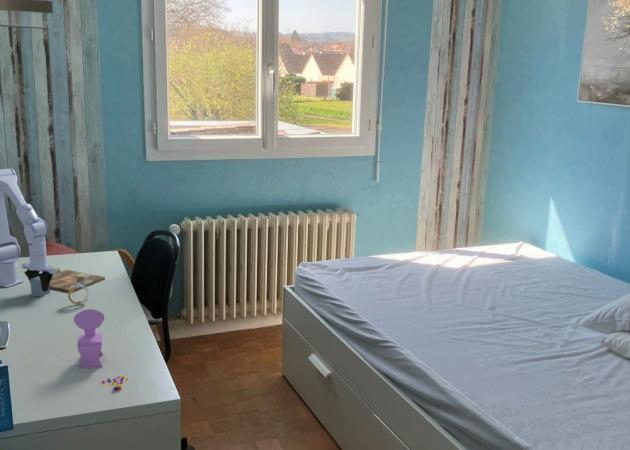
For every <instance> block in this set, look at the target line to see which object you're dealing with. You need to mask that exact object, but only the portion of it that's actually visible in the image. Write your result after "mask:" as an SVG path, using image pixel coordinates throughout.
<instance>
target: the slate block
mask: <svg viewBox="0 0 630 450" xmlns="http://www.w3.org/2000/svg"><path fill="white" fill-rule="evenodd" d="M30 280H31V283H30V290H31V295H32V296H35V297H44V296H46V295H49V294H50V293H51V292H50V290H51V289H50V287H49V289H48V290H47V291H45V292H43V290H42V284H41V280H40V278H39V276H38V277H35V278H32V279H30Z"/></svg>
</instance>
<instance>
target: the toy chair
mask: <svg viewBox="0 0 630 450" xmlns="http://www.w3.org/2000/svg"><path fill="white" fill-rule="evenodd" d="M104 321H105V314H104V313H102V312H101V311H100V310H97V309H93V308H87V309H83V310H80V311H79V312H78V313H77V314H75V315H74V317H73V322H74V324H75V325H76V326H77V327H78V328H79V329H81V330H83V331H84V334H78V338H77V342H76V343H77V350H78V351H77V352H78V353H79V357H80V358H81V359H80V361H81V362H80V364H79V367H78V369H79V370H80V369H81V370H83V369H84V370H85V369H91V368H93V369H94V368H102V367H103V364H102V362H101V360H100V356H104V354H103V353H104V352H103V351H102V348H103V346H102V345H103V344H102V342H103V341H102V339H103V333H101V332H100V333H98V332H97V333H96V329H97V328H99V327H101V325H102V324H103V322H104Z"/></svg>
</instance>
